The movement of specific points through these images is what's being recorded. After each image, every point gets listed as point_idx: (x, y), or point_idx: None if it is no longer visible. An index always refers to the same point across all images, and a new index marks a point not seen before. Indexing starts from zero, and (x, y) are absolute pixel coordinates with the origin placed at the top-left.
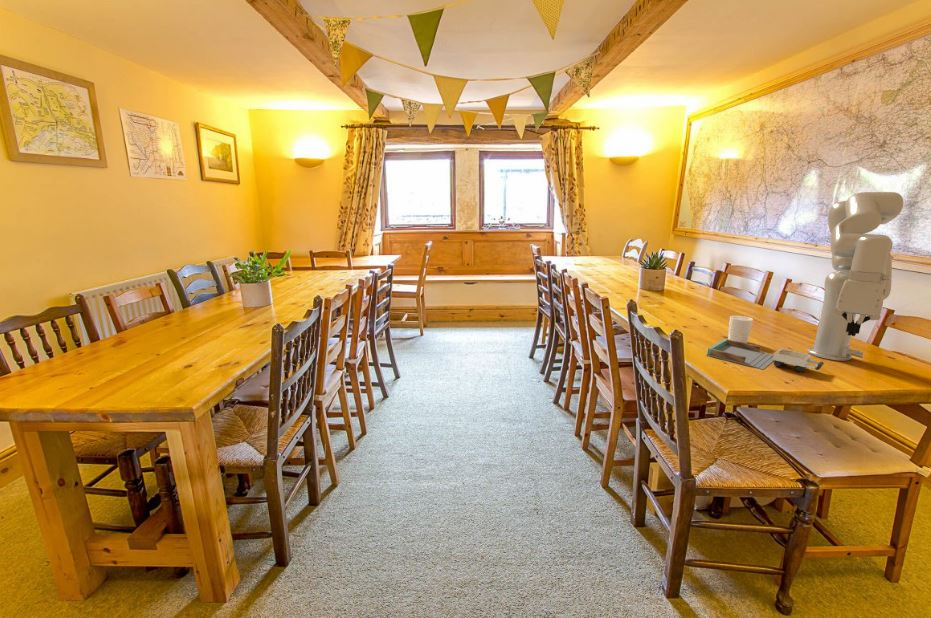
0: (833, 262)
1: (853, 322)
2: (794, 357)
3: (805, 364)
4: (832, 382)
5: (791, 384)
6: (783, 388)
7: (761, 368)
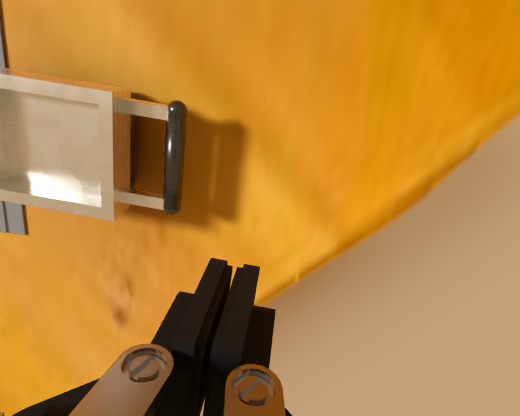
0: None
1: (189, 394)
2: (64, 207)
3: (123, 209)
4: (242, 221)
5: (135, 323)
6: None
7: (16, 229)
